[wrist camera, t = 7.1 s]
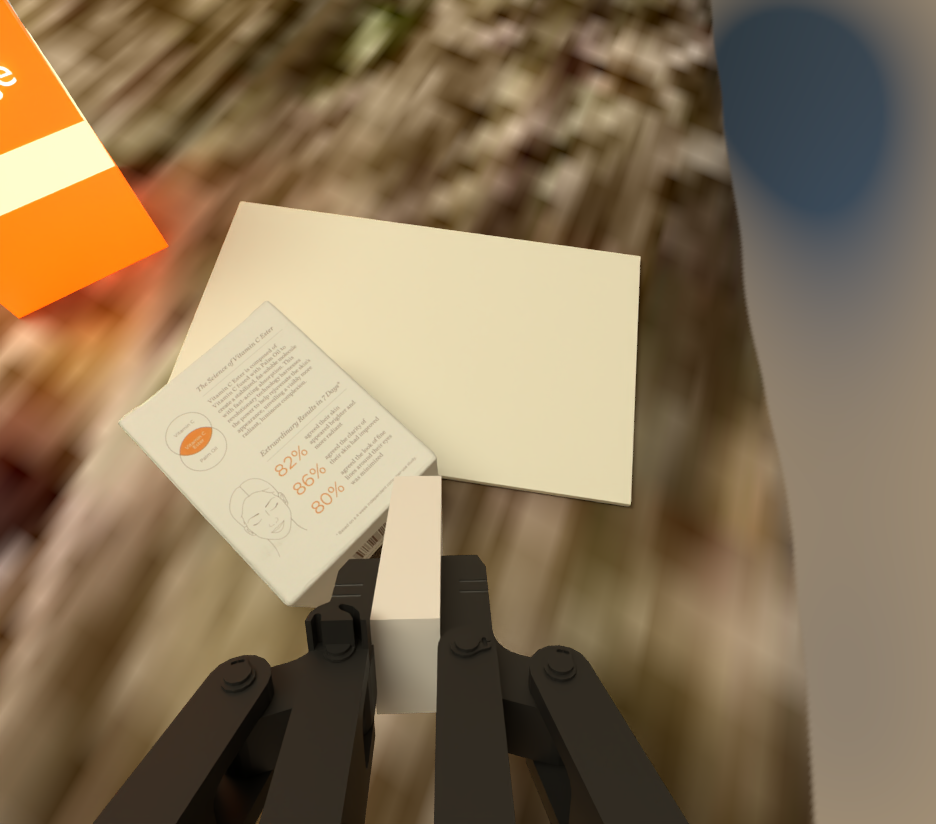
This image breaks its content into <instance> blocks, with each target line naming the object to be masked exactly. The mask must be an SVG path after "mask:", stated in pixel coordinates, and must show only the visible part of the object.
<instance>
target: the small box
mask: <svg viewBox="0 0 936 824" xmlns="http://www.w3.org/2000/svg"><path fill="white" fill-rule="evenodd" d="M119 425H120V427H121V428H122V429H123V430H124V431H125V432H126V434H127V435H128V436H129V437H130V438H131V439H132V440H133V441H134V442H135V443H136V444H137V445H138V446H139V447H140V448H141V449H142V450H143V451H144V453H145V454H146V455H147V456H148V457H149V458H150V459H151V460H152V461H153V462H154V463H155V464H156V465H157V466H158V468H159V469H160V470H161V471H162V472H163V473H164V474H165V475H166V476H167V477H168V478H169V480H170V481H171V482H172V483H173V484H174V485H175V486H176V487H177V488H178V489H179V490H180V491H181V493H182V494H183V495H184V496H185V497H186V498H187V499H188V500H189V501H190V503H191V504H192V505H193V506H194V507H195V508H196V509H197V510H198V511H199V512H200V513H201V514H202V516H203V517H204V518H205V519H206V520H207V521H208V522H209V523H210V524H211V525H212V526H213V527H214V528H215V529H216V531H217V532H218V533H219V534H220V535H221V536H222V537H223V538H224V539H225V540H226V541H227V542H228V543H229V544H230V545H231V547H232V548H233V549H234V550H235V551H236V552H237V553H238V554H239V555H240V556H241V557H242V558H243V560H244V561H245V562H246V563H247V564H248V565H249V566H250V567H251V568H252V569H253V570H254V571H255V572H256V573H257V575H258V576H259V577H260V578H261V579H262V580H263V581H264V582H265V583H266V584H267V585H268V586H269V587H270V588H271V590H272V591H273V592H274V593H275V594H276V595H277V596H278V597H279V598H280V599H281V601H282V602H283V603H284V604H286V605H287V606H295V607H313V608H317V607H318V606H320V605H323V604H325V603H328V602H330V600H331V597H332V593H333V589H334V587H335V582H336V578H337V574H338V571H339V570H340V569H341V567H342V566H343V565H344V564H345V563H346V562H347V561H348V560H349V559H369V558H370V557H371V556H372V555H373V554H374V553H375V551H376V550H377V549H378V548H379V547H380V546H381V545H382V544H383V540H384V534H385V529H386V523H387V517H388V511H389V505H390V499H391V493H392V488H393V482H394V476H438V466H437V458H436V455H435V454H434V452H433V451H432V450H431V449H430V448H428V447H427V446H426V445H425V444H424V443H423V442H422V441H421V440H420V439H419V438H417V437H416V436H415V435H414V434H413V433H412V432H411V431H410V430H409V429H407V428H406V427H405V426H404V425H403V424H402V423H401V422H400V421H399V420H398V419H396V418H395V417H394V416H393V415H392V414H391V413H390V412H389V411H388V410H387V409H386V408H384V407H383V406H382V405H381V404H380V403H379V402H378V401H377V400H376V399H375V398H374V397H372V396H371V395H370V394H369V393H368V392H367V391H366V390H365V389H364V388H363V387H361V386H360V385H359V384H358V383H357V382H356V381H355V380H354V379H353V378H352V377H351V376H350V375H349V374H347V373H346V372H345V371H344V370H343V369H342V368H341V367H340V366H339V365H338V364H337V363H336V362H335V361H334V360H332V359H331V358H330V357H329V356H328V355H327V354H326V353H325V352H324V351H323V350H322V349H321V348H320V347H319V346H317V345H316V344H315V343H314V342H313V341H312V340H311V339H310V338H309V337H308V336H307V335H306V334H305V333H304V332H303V331H301V330H300V329H299V328H298V327H297V326H296V325H295V324H294V323H293V322H292V321H290V320H289V319H288V318H287V317H286V316H285V315H284V314H283V313H282V312H281V311H280V310H278V309H277V308H276V307H275V306H274V305H273V304H272V303H270V302H269V301H264V302H263V303H262V304H261V305H260V306H259V307H258V308H257V309H255V310H254V311H253V312H252V313H251V314H250V315H249V317H247V318H246V319H245V320H244V321H243V322H242V323H240V324H239V325H238V326H237V327H236V328H235V329H233V330H232V331H231V332H230V333H228V334H227V335H226V336H225V337H224V338H222V339H221V340H220V341H219V342H218V343H216V344H215V345H214V346H213V347H212V348H210V349H209V350H208V351H207V352H206V353H204V354H203V355H202V356H201V357H199V358H198V359H197V360H196V361H194V362H193V363H192V364H191V365H190V366H188V367H187V368H186V369H185V370H184V371H182V372H181V373H180V374H179V375H177V376H176V377H175V378H174V379H173V380H171V381H170V382H169V383H168V384H166V385H165V386H164V387H163V388H161V389H160V390H159V391H158V392H157V393H155V394H154V395H153V396H152V397H150V398H149V399H148V400H146V401H145V402H144V403H143V404H141V405H140V406H137V407H135V408H134V409H133V410H131V411H130V412H129V413H127V414H126V415H125V416H124V417H122V418H121V419H120V420H119Z"/></svg>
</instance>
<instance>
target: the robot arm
mask: <svg viewBox="0 0 936 824" xmlns="http://www.w3.org/2000/svg"><path fill="white" fill-rule="evenodd" d="M305 626H306V634H307V642H308V649H309V652H308V653H307V654H306V655H304V656H302V657H300V658H299V659H297V660H294V661H291V662H288V663H285V664H281V665H278V666H274V667H270V665H269V663H268V662H267V661H266V660H265V659H264V658H261V657H258V656H255V655H243V656H239V657H235V658H232V659H230V660H228V661H226V662H224V663H222V664H220V665H219V666H218V667H217V668H216V669H215V670H214V671H213V672H211V673H210V675H209V676H208V677H207V678H206V680H205V681H204V682H203V684H202V685H201V686H200V687H199V689H198V690H197V691H196V692H195V694H194V695H193V696H192V698H191V699H190V700H189V701H188V703H187V704H186V705H185V706H184V708H183V709H182V710H181V712H180V713H179V714H178V715H177V717H176V718H175V719H174V720H173V722H172V723H171V724H170V726H169V727H168V728H167V729H166V731H165V732H164V733H163V735H162V736H161V737H160V738H159V740H158V741H157V742H156V743H155V745H154V746H153V747H152V749H151V750H150V751H149V752H148V754H147V755H146V756H145V757H144V759H143V760H142V761H141V763H140V764H139V765H138V766H137V768H136V769H135V770H134V772H133V773H132V774H131V775H130V777H129V778H128V779H127V780H126V782H125V783H124V784H123V786H122V787H121V788H120V789H119V791H118V792H117V793H116V794H115V796H114V797H113V798H112V800H111V801H110V802H109V803H108V805H107V806H106V807H105V809H104V810H103V811H102V812H101V814H100V815H99V816H98V817H97V819H96V820H95V821H94V823H93V824H255V823H256V821H257V819H258V817H259V815H260V813H261V812H262V810H263V812H262V815H261V819H260V822H259V824H364V823H365V815H366V807H367V798H368V790H369V782H370V774H371V766H372V758H373V749H374V741H375V726H374V715H375V707H376V708H377V714H400V713H433V712H436V750H435V802H434V824H516V823H515V814H514V804H513V795H512V786H511V777H510V767H509V758H508V753H511V754H514V755H518V756H521V757H524V758H526V763H527V766H528V768H529V771H530V773H531V776H532V778H533V781H534V783H535V786H536V788H537V790H538V793H539V795H540V798H541V800H542V803H543V805H544V808H545V810H546V813H547V815H548V818H549V820H550V823H551V824H689V823H688V822H687V820H686V819H685V817H684V815H683V814H682V812H681V810H680V809H679V807H678V806H677V804H676V802H675V801H674V799H673V798H672V796H671V794H670V793H669V791H668V789H667V788H666V786H665V785H664V783H663V781H662V780H661V778H660V777H659V775H658V773H657V772H656V770H655V768H654V767H653V765H652V764H651V762H650V760H649V759H648V757H647V756H646V754H645V752H644V751H643V749H642V747H641V746H640V744H639V743H638V741H637V739H636V738H635V736H634V735H633V733H632V731H631V730H630V728H629V726H628V725H627V723H626V722H625V720H624V718H623V717H622V715H621V714H620V712H619V710H618V709H617V707H616V705H615V704H614V702H613V701H612V699H611V697H610V696H609V694H608V693H607V691H606V689H605V688H604V686H603V684H602V683H601V681H600V680H599V678H598V676H597V675H596V673H595V672H594V670H593V668H592V667H591V665H590V663H589V662H588V661H587V660H586V659H585V657H584V656H583V655H582V654H581V653H579V652H577V651H575V650H574V649H572V648H569V647H564V646H560V645H558V646H547V647H544V648H542V649H539V650H538V651H537V652H536V653H535V654H534V655H533V656H532V658H531V657H527V656H523V655H519V654H516V653H513V652H510V651H509V650H507V649H505V648H504V647H503V646H501V645H500V644H499V643H498V642H497V640H496V639H495V637H494V634H493V631H492V622H491V613H490V604H489V594H488V585H487V575H486V566H485V565H484V564H483V562H482V561H481V560H480V558H479V557H478V556H477V555H455V556H443V542H442V484H441V476H394V482H393V488H392V493H391V499H390V505H389V511H388V517H387V523H386V529H385V534H384V540H383V546H382V552H381V558H372V559H349V560H348V561H347V562H346V563H345V564H344V565H343V566H342V567H341V569H340V570H339V571H338V574H337V578H336V582H335V587H334V589H333V593H332V597H331V600H330V602H328V603H325V604H323V605H320V606H318V607H317V608H316V609H314V610H313V611H312V612H311V613H310V614H309V615H308V617H307V619H306V620H305Z"/></svg>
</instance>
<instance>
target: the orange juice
mask: <svg viewBox="0 0 936 824" xmlns="http://www.w3.org/2000/svg"><path fill="white" fill-rule="evenodd" d="M13 10H14V9H13ZM13 10H12V8H11V7H10V5H9V4H8V2H7V1H6V0H0V304H2V305H3V306H4V307H5V308H7V309H8V310H9V311H10V312H12V313H13V314H14V315H15V316H17V317H18V318H21V317H23V316H26V315H28V314H30V313H32V312H34V311H36V310H38V309H40V308H42V307H44V306H46V305H48V304H50V303H52V302H54V301H57V300H59V299H61V298H63V297H65V296H67V295H69V294H71V293H73V292H75V291H77V290H79V289H81V288H83V287H85V286H88V285H90V284H92V283H94V282H96V281H98V280H100V279H102V278H104V277H106V276H108V275H110V274H112V273H114V272H116V271H119V270H121V269H123V268H125V267H127V266H129V265H131V264H133V263H135V262H137V261H139V260H141V259H143V258H145V257H148V256H150V255H152V254H154V253H156V252H158V251H160V250H162V249H164V248H166V247H168V245H167V243H166V241H165V240H164V238H163V237H162V235H161V234H160V232H159V231H158V229H157V227H156V226H155V224H154V223H153V221H152V220H151V218H150V217H149V215H148V213H147V212H146V210H145V209H144V207H143V206H142V204H141V203H140V201H139V199H138V198H137V196H136V195H135V193H134V192H133V190H132V189H131V187H130V185H129V184H128V182H127V181H126V179H125V178H124V176H123V175H122V173H121V171H120V170H119V168H118V167H117V165H116V164H115V162H114V161H113V159H112V158H111V156H110V155H109V153H108V152H107V150H106V149H105V147H104V146H103V144H102V143H101V141H100V140H99V138H98V137H97V135H96V134H95V132H94V131H93V129H92V128H91V126H90V125H89V123H88V122H87V120H86V119H85V117H84V116H83V114H82V113H81V111H80V110H79V108H78V107H77V105H76V103H75V102H74V100H73V99H72V97H71V96H70V94H69V93H68V91H67V89H66V88H65V86H64V85H63V83H62V82H61V80H60V78H59V77H58V75H57V74H56V72H55V71H54V69H53V68H52V66H51V65H50V63H49V62H48V60H47V59H46V57H45V56H44V54H43V53H42V51H41V50H40V48H39V46H38V45H37V44H36V42H35V40H34V39H33V38H32V36H31V34H30V33H29V32H28V30H27V29H25V28H24V26H23V25H22V23H21V22H20V20H19V19H18V17H17V16H16V14H15V13H14V12H15V11H13Z"/></svg>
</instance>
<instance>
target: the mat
mask: <svg viewBox="0 0 936 824" xmlns="http://www.w3.org/2000/svg"><path fill="white" fill-rule="evenodd" d="M639 278H640V256H634V255H626V254H619V253H612V252H605V251H597V250H590V249H583V248H576V247H568V246H561V245H554V244H547V243H539V242H532V241H525V240H518V239H510V238H503V237H496V236H489V235H481V234H474V233H467V232H460V231H452V230H445V229H438V228H431V227H423V226H416V225H409V224H402V223H395V222H387V221H380V220H373V219H366V218H358V217H351V216H344V215H337V214H329V213H322V212H315V211H308V210H300V209H293V208H286V207H279V206H271V205H264V204H257V203H250V202H242V201H240V204H239V206H238V209H237V211H236V214H235V216H234V219H233V221H232V224H231V226H230V229H229V231H228V234H227V236H226V239H225V241H224V244H223V246H222V249H221V251H220V254H219V256H218V259H217V261H216V264H215V266H214V269H213V271H212V274H211V276H210V279H209V281H208V284H207V286H206V289H205V291H204V294H203V296H202V299H201V301H200V304H199V306H198V309H197V311H196V314H195V316H194V319H193V321H192V324H191V326H190V329H189V331H188V334H187V336H186V339H185V341H184V344H183V346H182V349H181V351H180V354H179V356H178V359H177V361H176V364H175V366H174V369H173V371H172V374H171V376H170V379H169V381H168V383H169V382H170V381H171V380H173V379H174V378H175V377H176V376H177V375H179V374H180V373H181V372H182V371H184V370H185V369H186V368H187V367H188V366H190V365H191V364H192V363H193V362H194V361H196V360H197V359H198V358H199V357H201V356H202V355H203V354H204V353H206V352H207V351H208V350H209V349H210V348H212V347H213V346H214V345H215V344H216V343H218V342H219V341H220V340H221V339H222V338H224V337H225V336H226V335H227V334H228V333H230V332H231V331H232V330H233V329H235V328H236V327H237V326H238V325H239V324H240V323H242V322H243V321H244V320H245V319H246V318H247V317H249V315H250V314H251V313H252V312H253V311H254V310H255V309H257V308H258V307H259V306H260V305H261V304H262V303H263V302H264V301H269V302H270V303H272V304H273V305H274V306H275V307H276V308H277V309H278V310H280V311H281V312H282V313H283V314H284V315H285V316H286V317H287V318H288V319H289V320H290V321H292V322H293V323H294V324H295V325H296V326H297V327H298V328H299V329H300V330H301V331H303V332H304V333H305V334H306V335H307V336H308V337H309V338H310V339H311V340H312V341H313V342H314V343H315V344H316V345H317V346H319V347H320V348H321V349H322V350H323V351H324V352H325V353H326V354H327V355H328V356H329V357H330V358H331V359H332V360H334V361H335V362H336V363H337V364H338V365H339V366H340V367H341V368H342V369H343V370H344V371H345V372H346V373H347V374H349V375H350V376H351V377H352V378H353V379H354V380H355V381H356V382H357V383H358V384H359V385H360V386H361V387H363V388H364V389H365V390H366V391H367V392H368V393H369V394H370V395H371V396H372V397H374V398H375V399H376V400H377V401H378V402H379V403H380V404H381V405H382V406H383V407H384V408H386V409H387V410H388V411H389V412H390V413H391V414H392V415H393V416H394V417H395V418H396V419H398V420H399V421H400V422H401V423H402V424H403V425H404V426H405V427H406V428H407V429H409V430H410V431H411V432H412V433H413V434H414V435H415V436H416V437H417V438H419V439H420V440H421V441H422V442H423V443H424V444H425V445H426V446H427V447H428V448H430V449H431V450H432V451H433V452H434V454H435V455H436V458H437V466H438V476H441V478H444V479H451V480H457V481H464V482H471V483H477V484H484V485H490V486H497V487H503V488H510V489H516V490H523V491H529V492H536V493H542V494H549V495H555V496H562V497H569V498H575V499H582V500H588V501H595V502H601V503H608V504H614V505H621V506H627V507H629V506H630V505H631V486H632V460H633V434H634V408H635V382H636V356H637V330H638V304H639Z"/></svg>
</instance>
